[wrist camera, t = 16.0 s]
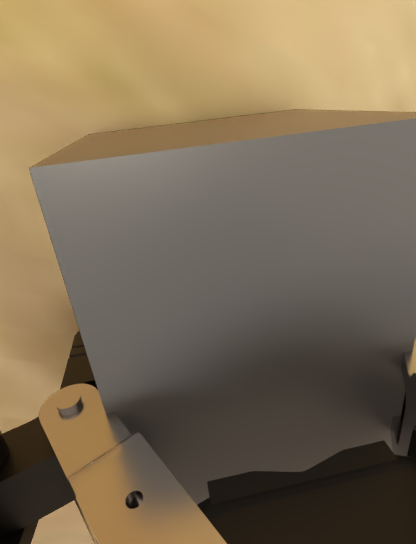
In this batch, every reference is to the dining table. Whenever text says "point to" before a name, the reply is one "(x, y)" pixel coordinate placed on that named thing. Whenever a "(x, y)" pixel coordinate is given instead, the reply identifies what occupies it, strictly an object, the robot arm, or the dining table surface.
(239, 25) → the dining table surface
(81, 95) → the dining table surface
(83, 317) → the gray rectangular prism
